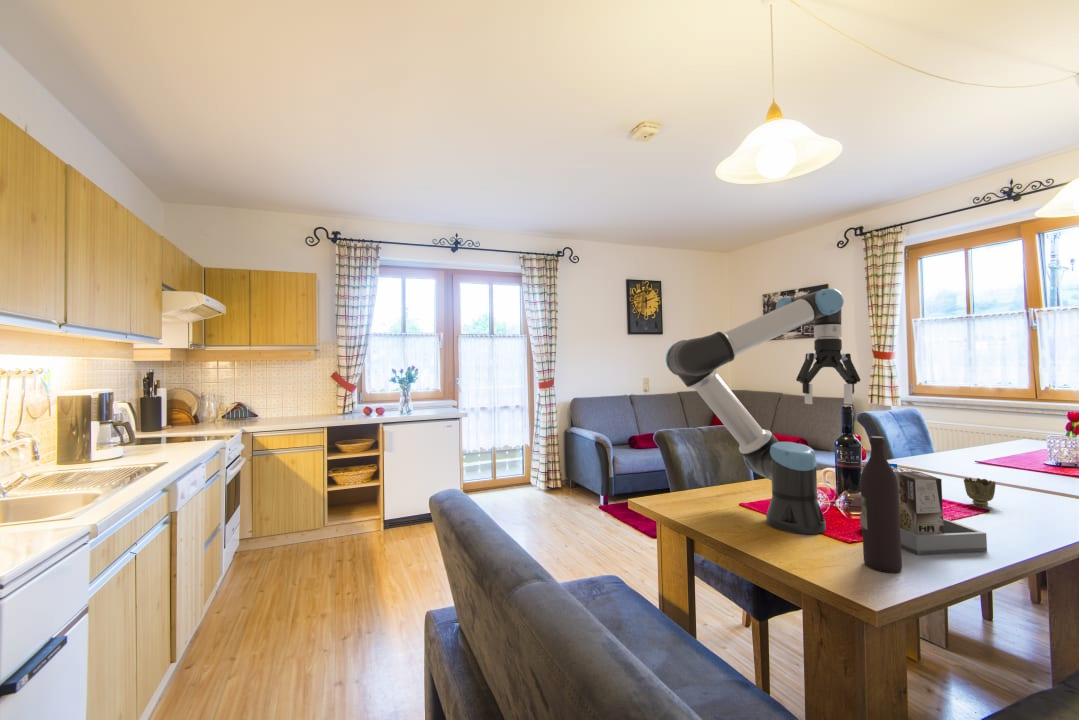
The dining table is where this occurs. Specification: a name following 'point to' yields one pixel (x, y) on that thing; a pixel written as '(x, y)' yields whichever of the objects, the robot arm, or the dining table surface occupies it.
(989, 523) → the dining table surface
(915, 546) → the tray
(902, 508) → the coffee box
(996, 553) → the dining table surface
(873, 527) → the wine bottle
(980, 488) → the cup
